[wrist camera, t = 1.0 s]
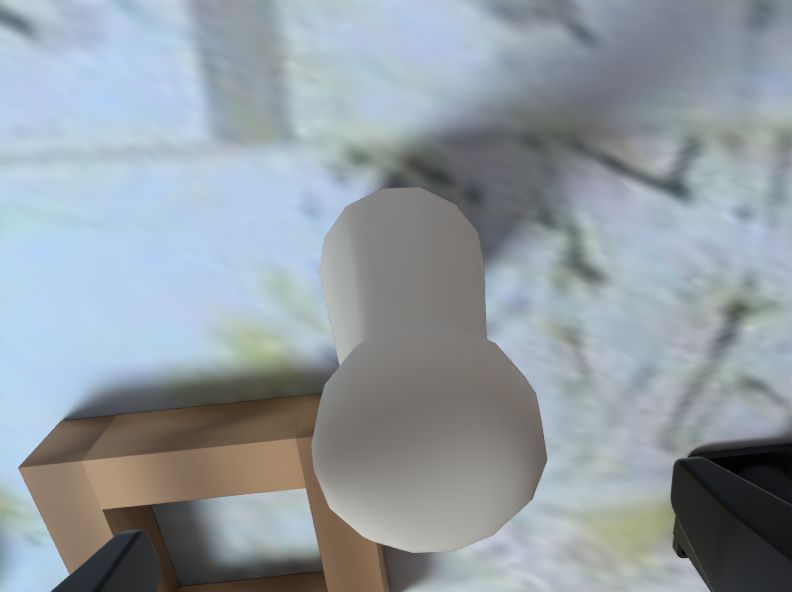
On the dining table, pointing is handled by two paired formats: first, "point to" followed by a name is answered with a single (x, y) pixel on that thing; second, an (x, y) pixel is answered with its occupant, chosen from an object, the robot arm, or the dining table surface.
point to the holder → (192, 484)
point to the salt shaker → (419, 382)
